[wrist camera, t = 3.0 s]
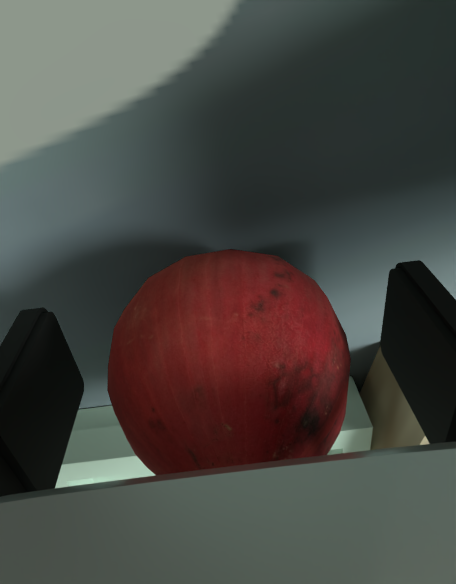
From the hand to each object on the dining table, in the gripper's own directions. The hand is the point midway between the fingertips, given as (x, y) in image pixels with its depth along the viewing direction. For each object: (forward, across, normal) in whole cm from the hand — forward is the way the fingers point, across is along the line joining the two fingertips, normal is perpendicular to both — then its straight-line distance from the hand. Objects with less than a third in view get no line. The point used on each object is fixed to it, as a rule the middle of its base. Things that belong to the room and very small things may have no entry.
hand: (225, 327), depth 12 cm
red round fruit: (+2, 0, 0) cm, 2 cm away
